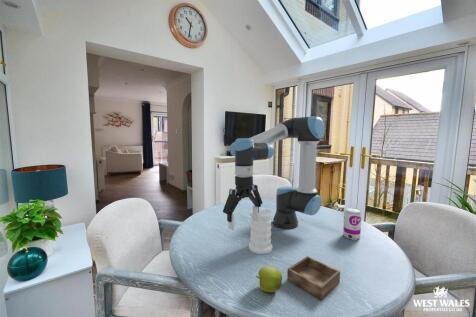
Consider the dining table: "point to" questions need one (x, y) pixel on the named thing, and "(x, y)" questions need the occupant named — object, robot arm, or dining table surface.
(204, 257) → the dining table surface
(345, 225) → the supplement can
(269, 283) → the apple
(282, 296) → the dining table surface
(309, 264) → the walnut box
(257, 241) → the decorative container
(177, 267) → the dining table surface
